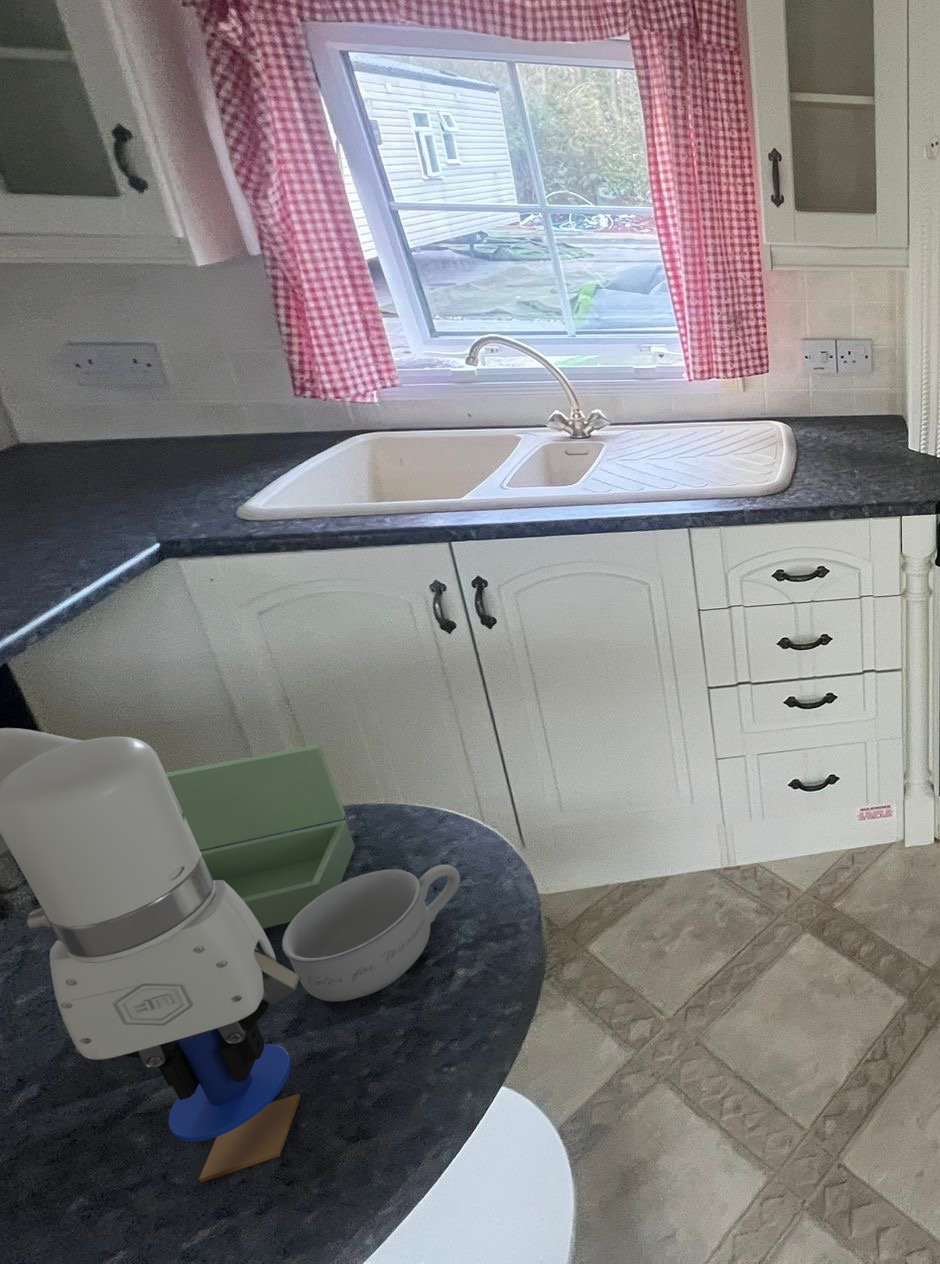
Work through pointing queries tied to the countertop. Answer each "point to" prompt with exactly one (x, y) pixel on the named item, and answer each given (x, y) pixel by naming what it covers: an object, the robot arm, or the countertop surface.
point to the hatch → (257, 796)
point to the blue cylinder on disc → (224, 1088)
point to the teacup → (364, 932)
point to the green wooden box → (283, 869)
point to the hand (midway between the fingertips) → (222, 1071)
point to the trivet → (252, 1140)
